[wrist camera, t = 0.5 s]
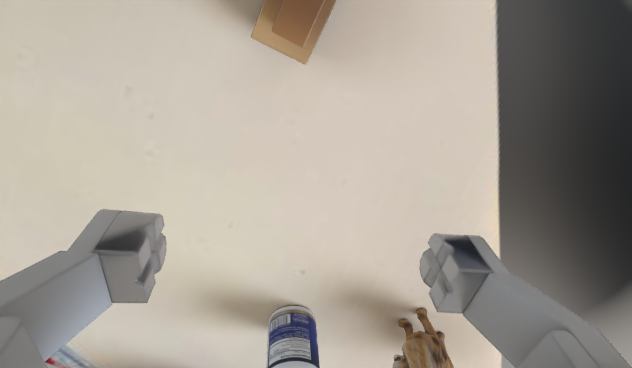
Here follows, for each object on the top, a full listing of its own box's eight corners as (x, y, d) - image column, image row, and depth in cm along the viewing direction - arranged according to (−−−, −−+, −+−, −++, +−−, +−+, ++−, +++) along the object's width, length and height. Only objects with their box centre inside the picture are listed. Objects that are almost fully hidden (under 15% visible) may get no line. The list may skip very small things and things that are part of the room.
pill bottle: (309, 334, 39) (316, 428, 31) (265, 331, 38) (259, 427, 30) (320, 305, 37) (329, 400, 28) (272, 301, 36) (268, 398, 27)
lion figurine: (371, 312, 38) (392, 395, 30) (410, 291, 36) (443, 373, 29) (428, 360, 45) (458, 438, 37) (464, 344, 43) (501, 422, 36)
